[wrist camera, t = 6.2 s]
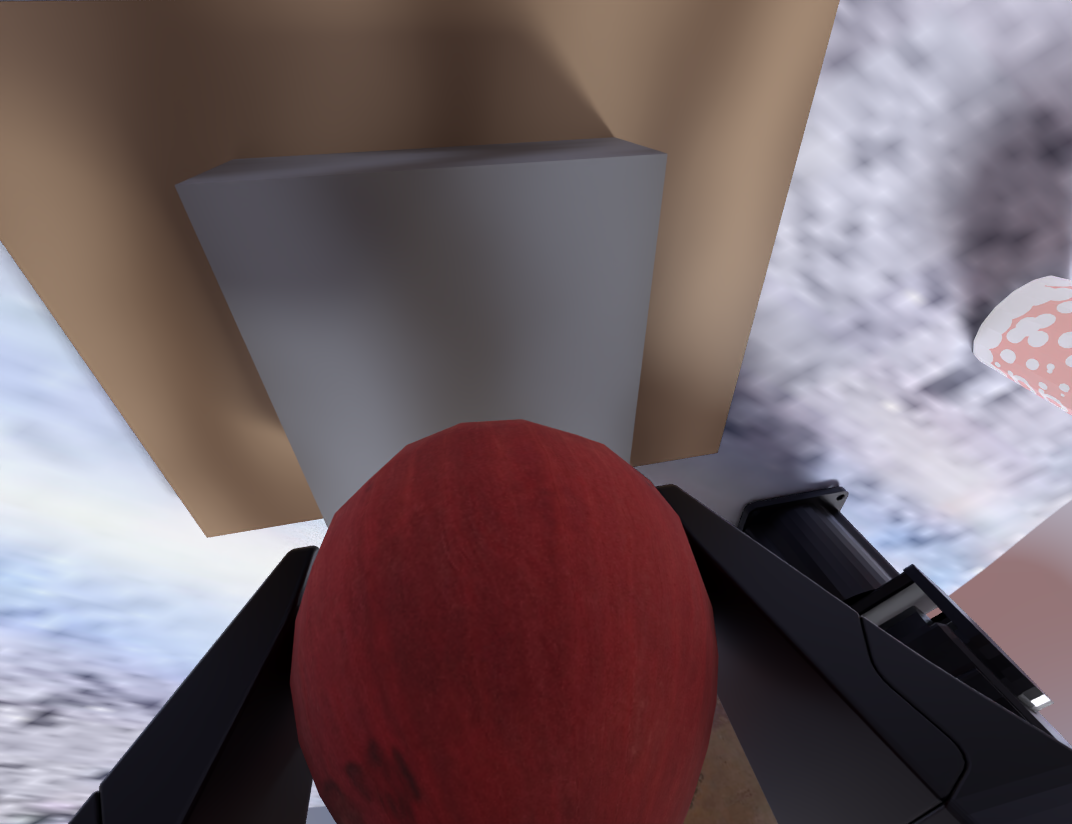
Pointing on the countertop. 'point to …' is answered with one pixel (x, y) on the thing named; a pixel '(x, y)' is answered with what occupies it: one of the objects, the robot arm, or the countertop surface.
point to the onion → (505, 639)
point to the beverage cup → (1032, 339)
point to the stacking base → (378, 89)
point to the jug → (727, 782)
